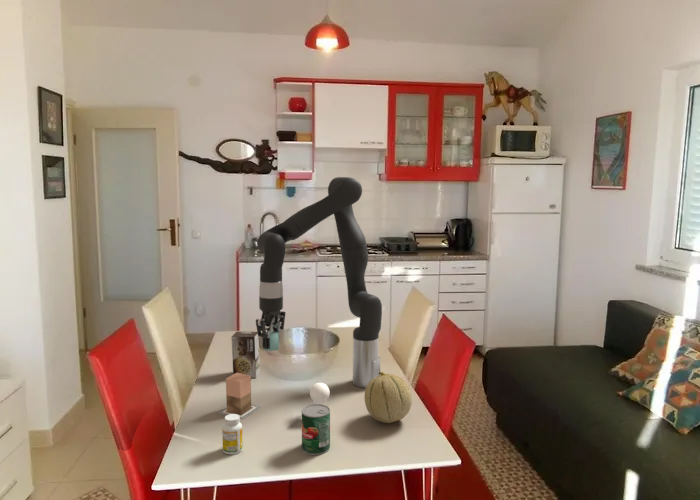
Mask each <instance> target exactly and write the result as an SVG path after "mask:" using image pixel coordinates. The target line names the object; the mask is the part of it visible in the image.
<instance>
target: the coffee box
mask: <svg viewBox="0 0 700 500" xmlns="http://www.w3.org/2000/svg"><path fill="white" fill-rule="evenodd" d="M258 349H259V350H260V337H259V336H258V333H257V331H238V330H237V331H235V332H234V333H233V334H232V335H231V352H232V353H231V354H232V375H233V374H235V373H241V374H246V375H251V379H255V378H258V376H259V375H260V373H261V359H260V358H261V357H260V356H259V352H258Z"/></svg>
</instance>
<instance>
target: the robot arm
mask: <svg viewBox="0 0 700 500" xmlns="http://www.w3.org/2000/svg"><path fill="white" fill-rule="evenodd" d="M327 193H328V194H327V196H325V197H323V198H322V199H320V200H318V201H316V202H314V203H312V204H310V205H308V206H306V207H303V208H302V209H300V210H298V211H296V212H295V213H294V214H291V216H290V217H288V218H287V219H285V220H284V221H282V222H281V223H279V224H276V225H275V226H273V227H270V228H269V229H267V230H265V231H264V232H263V233H261V234H260V235H259V236H258V238H257V241H256V246H257V248H258V250H259V251H260V252H261V253H263V254H264V255H263V262H262V263H261V265H260V268H259V286H258V289H259V290H258V292H259V296H258V304H259V305H258V308H259V310H260V311H261V318H260V319H258V318H256V320H255V325H256V332H257V333H258V336H259V338H262V348H264V349H269V348H270V338H269V337H270V332H271V331H275V332H278V333H279V334H280V333H281V331H282V330H284V329H285V328H284V327H285V319H286V314H287V313H286V312H285V311H283V308H284V284H283V265H284V259H285V255H286V243H287V242H290V241H296V240H297V239H299V238H300V237H302V236H303V235H304V234H306V233H307V232H308V231H309V230H311V229H313V228H314V227H315V226H317V225H318V224H320V223H321V222H323V221H324V220H326V219H327V218H329V217H331V216H332V215H334V220H335V225H336V230H337V231H336V232H337V236H338V241H339V248H340V255H341V257H342V259H341V260H342V262H343V268H344V274H345V279H346V285H347V286H346V288H347V301H348V307H349V308H348V309H349V311H350V312H351V314H352V315H353V316H354V317H356V318H359V326H358V327H355V328H354V329H353V331H352V384H353V385H354V386H356V387H358V388H365V389H366V387H367V385H368V383H369V382H370V381H371V380H372V379H373V378H375V377H377V376H379V375H381V374H379V372H381V356H379V341H380V339H379V335H380V332H381V329H382V315H383V307H382V301H381V299H380V298H379V297H378V296H376V295H374V294H370V293H369V292H368V290H367V286H366V281H365V274H366V269H367V267H368V263H369V250H368V246H367V240H366V237H365V235H364V232H363V230H362V229H361V227H360V224H358V221H357V219H356V217H355V213H354V211H353V210H354V209H353V208H354V207H353V205H354V204H356V203H357V202H358V201H359V200H360V199H361V197H362V194H363V187H362V184H361V183H360V181H359V180H358V179H357V178H354V177H349V176H348V177H346V176H338V177H334V178H333V179H332V180H331V181H330V182H329V184H328V187H327ZM266 332H267V334H266ZM264 349H263V350H264Z"/></svg>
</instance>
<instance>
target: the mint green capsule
mask: <svg viewBox="0 0 700 500" xmlns="http://www.w3.org/2000/svg"><path fill="white" fill-rule="evenodd" d="M266 334H267V331H266ZM269 338H270V348H269V349H264V348H263V347H262V348H263V350H264V351H267V352H274V351H277V350H279V349H280V333H278V332H275V331H271V332H270V337H269Z"/></svg>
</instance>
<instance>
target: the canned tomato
mask: <svg viewBox="0 0 700 500" xmlns="http://www.w3.org/2000/svg"><path fill="white" fill-rule="evenodd" d="M300 412H301V451H302V452H304V453H305V454H307V455H311V456H313V455H314V456H317V455H318V456H320V455H323V454H325V453H327V452H328V451H330V448H331V409H330V407H329V406H327V405H326V404H325V405H321V404H314V403H313V404H308V405H306V406H303V408H302V409H301V411H300Z"/></svg>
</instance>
